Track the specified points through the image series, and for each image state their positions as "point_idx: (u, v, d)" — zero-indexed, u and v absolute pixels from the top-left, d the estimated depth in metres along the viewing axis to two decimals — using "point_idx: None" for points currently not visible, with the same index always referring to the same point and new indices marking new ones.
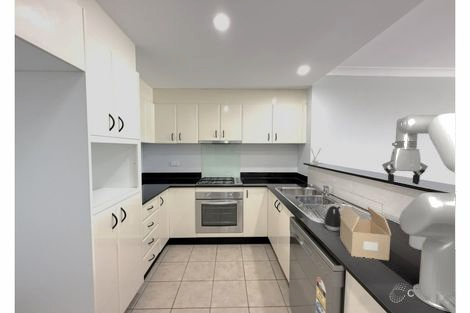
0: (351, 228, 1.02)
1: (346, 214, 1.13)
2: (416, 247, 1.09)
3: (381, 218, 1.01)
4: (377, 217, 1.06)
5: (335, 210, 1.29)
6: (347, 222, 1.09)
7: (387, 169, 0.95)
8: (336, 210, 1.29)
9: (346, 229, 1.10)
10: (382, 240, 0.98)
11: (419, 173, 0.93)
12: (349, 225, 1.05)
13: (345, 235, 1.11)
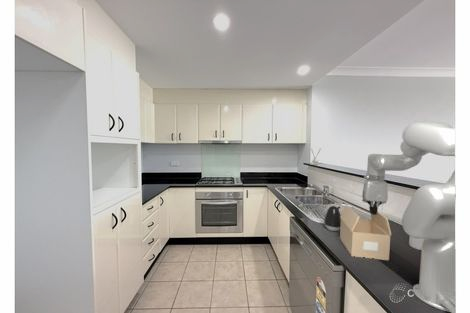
0: (351, 228, 1.02)
1: (346, 214, 1.13)
2: (416, 247, 1.09)
3: (382, 218, 1.01)
4: (378, 217, 1.06)
5: (335, 210, 1.29)
6: (347, 222, 1.09)
7: (369, 202, 1.07)
8: (336, 210, 1.29)
9: (346, 229, 1.10)
10: (382, 240, 0.98)
11: None
12: (349, 225, 1.05)
13: (345, 235, 1.11)
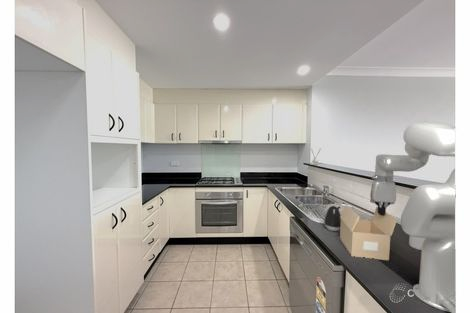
0: (351, 228, 1.02)
1: (346, 214, 1.13)
2: (416, 247, 1.09)
3: (390, 218, 1.01)
4: (384, 217, 1.06)
5: (335, 210, 1.29)
6: (347, 222, 1.09)
7: (377, 202, 1.06)
8: (336, 210, 1.29)
9: (346, 229, 1.10)
10: (382, 240, 0.98)
11: (386, 206, 1.05)
12: (349, 225, 1.05)
13: (345, 235, 1.11)
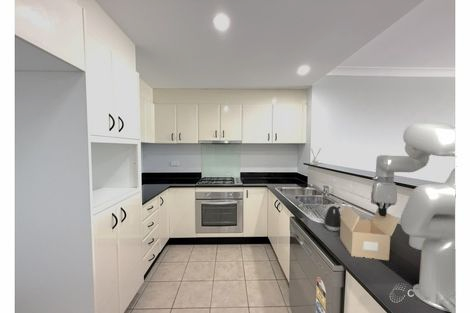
0: (351, 228, 1.02)
1: (346, 214, 1.13)
2: (416, 247, 1.09)
3: (392, 219, 1.00)
4: (385, 218, 1.06)
5: (335, 210, 1.29)
6: (347, 222, 1.09)
7: (377, 203, 1.06)
8: (336, 210, 1.29)
9: (346, 229, 1.10)
10: (382, 240, 0.98)
11: (386, 207, 1.05)
12: (349, 225, 1.05)
13: (345, 235, 1.11)
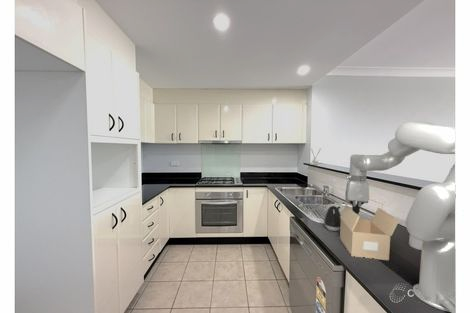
0: (351, 228, 1.02)
1: (346, 214, 1.13)
2: (416, 247, 1.09)
3: (392, 219, 1.00)
4: (385, 218, 1.06)
5: (335, 210, 1.29)
6: (347, 222, 1.09)
7: (351, 201, 1.08)
8: (336, 210, 1.29)
9: (346, 229, 1.10)
10: (382, 240, 0.98)
11: (359, 205, 1.08)
12: (349, 225, 1.05)
13: (345, 235, 1.11)
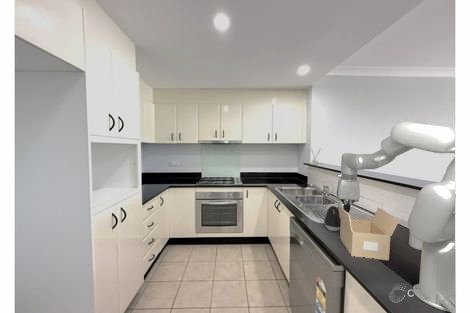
0: (350, 228, 1.02)
1: (342, 214, 1.14)
2: (416, 247, 1.09)
3: (392, 219, 1.00)
4: (385, 218, 1.06)
5: (335, 210, 1.29)
6: (345, 222, 1.09)
7: (342, 200, 1.09)
8: (336, 210, 1.29)
9: (346, 229, 1.10)
10: (382, 240, 0.98)
11: None
12: (347, 225, 1.05)
13: (345, 235, 1.11)
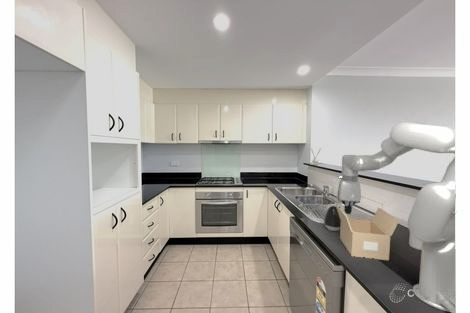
0: (349, 229, 1.02)
1: (340, 214, 1.14)
2: (416, 247, 1.09)
3: (392, 219, 1.00)
4: (385, 218, 1.06)
5: (335, 210, 1.29)
6: (345, 222, 1.09)
7: (343, 201, 1.09)
8: (336, 210, 1.29)
9: (346, 229, 1.10)
10: (382, 240, 0.98)
11: (351, 204, 1.08)
12: (347, 226, 1.05)
13: (345, 235, 1.11)
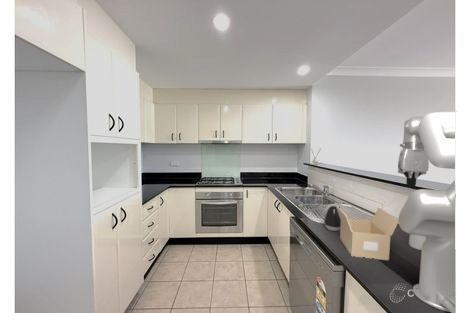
0: (349, 229, 1.02)
1: (340, 214, 1.14)
2: (416, 247, 1.09)
3: (392, 219, 1.00)
4: (385, 218, 1.06)
5: (335, 210, 1.29)
6: (345, 222, 1.09)
7: (406, 173, 0.95)
8: (336, 210, 1.29)
9: (346, 229, 1.10)
10: (382, 240, 0.98)
11: (416, 176, 0.95)
12: (347, 226, 1.05)
13: (345, 235, 1.11)
